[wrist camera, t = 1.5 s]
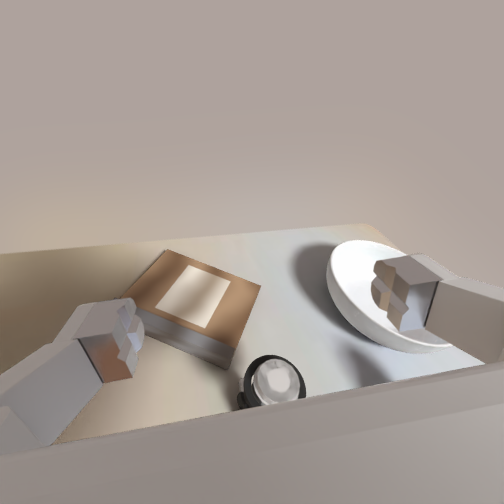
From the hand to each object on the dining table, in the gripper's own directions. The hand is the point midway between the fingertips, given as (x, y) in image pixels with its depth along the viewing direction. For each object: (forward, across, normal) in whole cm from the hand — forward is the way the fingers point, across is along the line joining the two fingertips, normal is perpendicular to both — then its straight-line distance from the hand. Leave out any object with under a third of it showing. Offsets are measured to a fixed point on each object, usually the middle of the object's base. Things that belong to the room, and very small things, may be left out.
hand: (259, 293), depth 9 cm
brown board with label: (+24, +7, +18) cm, 31 cm away
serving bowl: (+25, -21, +26) cm, 42 cm away
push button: (+10, +1, +23) cm, 25 cm away
